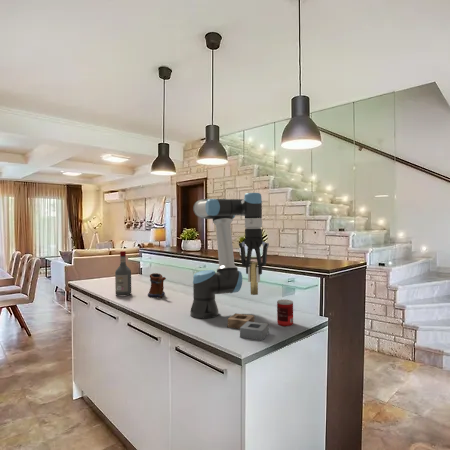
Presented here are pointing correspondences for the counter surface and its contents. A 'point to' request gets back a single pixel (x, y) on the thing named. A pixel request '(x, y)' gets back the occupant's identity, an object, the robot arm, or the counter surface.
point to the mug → (156, 286)
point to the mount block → (239, 320)
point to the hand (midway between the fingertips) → (254, 281)
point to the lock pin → (253, 278)
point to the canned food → (285, 312)
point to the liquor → (123, 277)
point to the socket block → (254, 330)
